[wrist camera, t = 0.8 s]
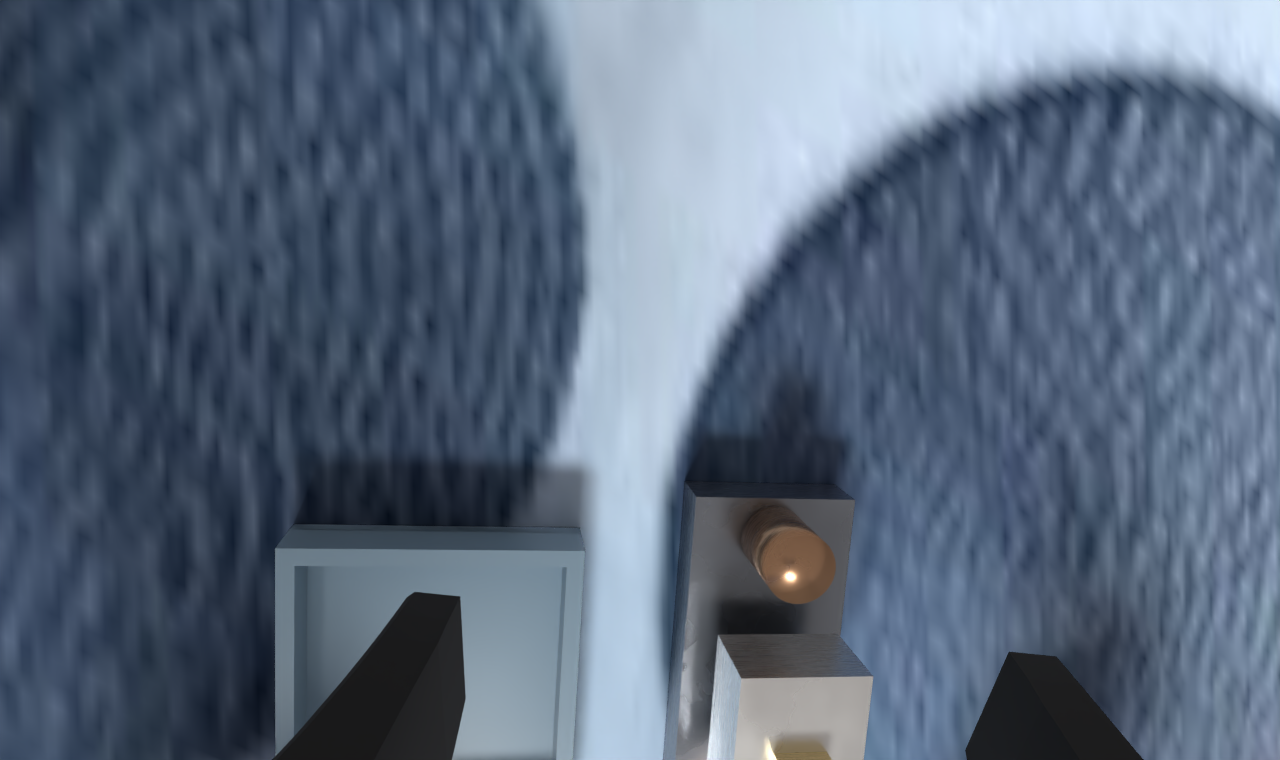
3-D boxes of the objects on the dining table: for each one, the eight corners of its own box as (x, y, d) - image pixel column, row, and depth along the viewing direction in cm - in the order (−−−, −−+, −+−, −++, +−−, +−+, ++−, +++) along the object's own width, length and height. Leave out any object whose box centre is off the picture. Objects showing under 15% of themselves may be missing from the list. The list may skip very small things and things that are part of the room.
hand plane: (797, 830, 35) (855, 948, 29) (657, 837, 34) (687, 960, 28) (834, 484, 33) (905, 537, 27) (684, 481, 32) (724, 535, 26)
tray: (563, 798, 33) (567, 841, 31) (292, 809, 31) (275, 855, 29) (579, 527, 31) (585, 551, 29) (293, 524, 30) (275, 548, 27)
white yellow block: (820, 786, 31) (861, 858, 27) (704, 791, 30) (730, 866, 26) (837, 633, 30) (882, 687, 26) (717, 634, 29) (747, 690, 26)
